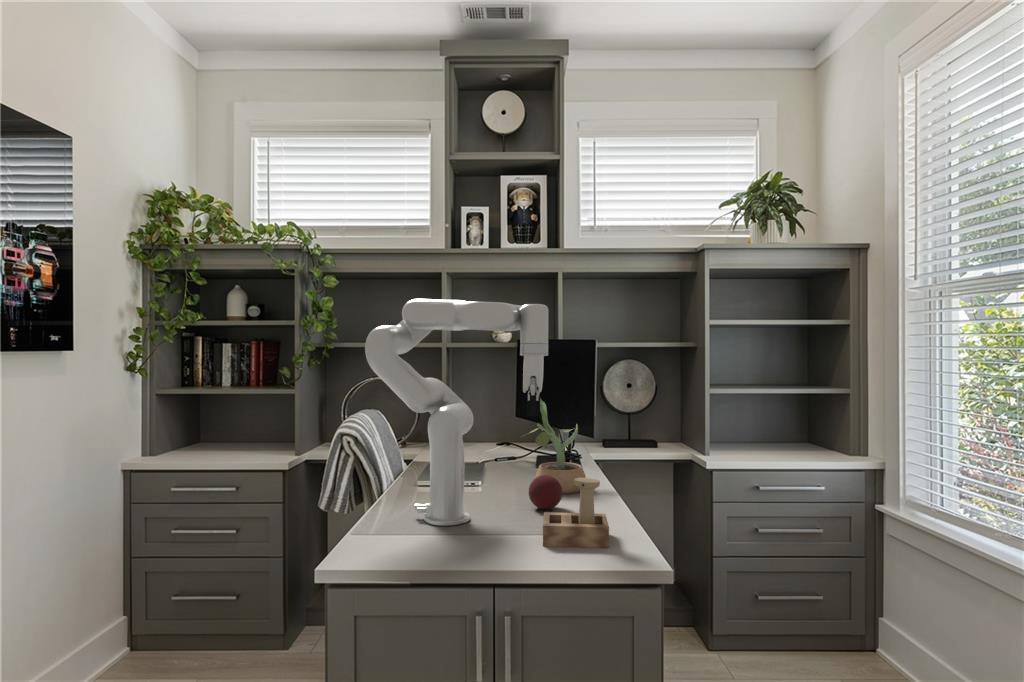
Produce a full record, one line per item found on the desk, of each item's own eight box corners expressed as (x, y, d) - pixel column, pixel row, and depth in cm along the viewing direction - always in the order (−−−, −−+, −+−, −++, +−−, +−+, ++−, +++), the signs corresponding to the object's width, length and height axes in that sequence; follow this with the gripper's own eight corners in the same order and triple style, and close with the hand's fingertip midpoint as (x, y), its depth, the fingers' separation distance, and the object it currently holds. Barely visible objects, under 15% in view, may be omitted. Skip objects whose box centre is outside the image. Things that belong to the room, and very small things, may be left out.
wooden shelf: (542, 546, 158) (542, 525, 158) (543, 531, 170) (543, 512, 170) (608, 548, 157) (609, 527, 157) (605, 532, 169) (605, 513, 169)
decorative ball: (568, 511, 190) (568, 477, 190) (538, 515, 185) (538, 480, 185) (551, 503, 199) (551, 470, 199) (522, 506, 194) (522, 473, 194)
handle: (594, 544, 160) (594, 483, 160) (570, 539, 163) (571, 480, 163) (602, 539, 164) (602, 480, 164) (579, 534, 167) (579, 476, 167)
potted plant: (590, 484, 224) (591, 397, 224) (580, 496, 207) (581, 402, 207) (527, 479, 231) (528, 395, 230) (513, 491, 214) (513, 400, 213)
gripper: (521, 349, 183) (521, 410, 183) (518, 350, 166) (517, 417, 166) (548, 349, 182) (548, 410, 182) (547, 351, 165) (547, 418, 165)
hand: (533, 413), depth 174 cm, fingers open, 9 cm apart
